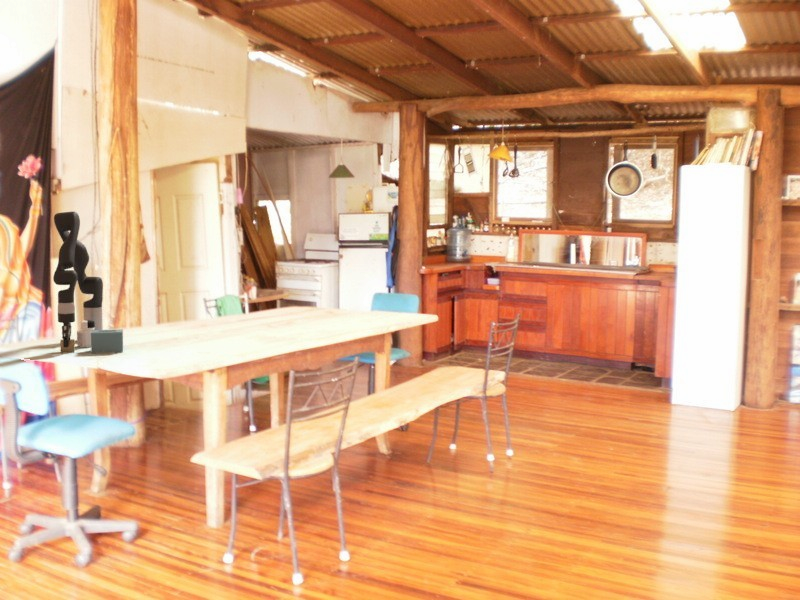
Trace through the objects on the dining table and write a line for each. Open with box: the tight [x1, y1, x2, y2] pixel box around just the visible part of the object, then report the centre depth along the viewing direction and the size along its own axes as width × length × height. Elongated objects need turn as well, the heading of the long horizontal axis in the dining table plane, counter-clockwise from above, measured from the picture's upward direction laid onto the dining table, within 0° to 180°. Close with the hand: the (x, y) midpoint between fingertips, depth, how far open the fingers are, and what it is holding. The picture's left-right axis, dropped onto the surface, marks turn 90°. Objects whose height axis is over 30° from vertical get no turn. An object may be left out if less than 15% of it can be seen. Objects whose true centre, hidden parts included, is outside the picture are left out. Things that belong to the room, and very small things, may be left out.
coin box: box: [90, 329, 124, 354], centre depth 396 cm, size 10×14×10 cm
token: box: [59, 338, 76, 353], centre depth 392 cm, size 2×6×6 cm, turn 107°
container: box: [76, 319, 95, 348], centre depth 411 cm, size 8×8×13 cm
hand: (66, 345), depth 392 cm, fingers open, 8 cm apart
